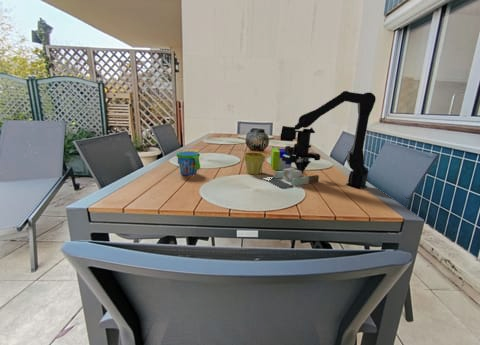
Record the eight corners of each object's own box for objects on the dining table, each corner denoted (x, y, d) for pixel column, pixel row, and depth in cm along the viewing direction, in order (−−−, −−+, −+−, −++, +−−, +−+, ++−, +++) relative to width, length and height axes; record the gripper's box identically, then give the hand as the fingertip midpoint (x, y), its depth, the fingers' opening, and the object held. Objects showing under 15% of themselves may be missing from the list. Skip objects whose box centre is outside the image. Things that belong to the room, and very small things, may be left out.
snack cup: (171, 171, 122) (170, 151, 120) (190, 168, 129) (190, 149, 126) (186, 179, 111) (185, 157, 108) (206, 175, 117) (206, 154, 114)
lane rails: (318, 181, 114) (319, 175, 113) (293, 185, 107) (293, 179, 106) (298, 174, 125) (299, 168, 125) (274, 177, 118) (275, 171, 118)
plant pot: (262, 176, 120) (263, 156, 117) (241, 174, 122) (242, 155, 119) (264, 171, 130) (266, 152, 127) (245, 169, 132) (246, 151, 129)
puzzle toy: (290, 170, 134) (292, 152, 131) (272, 169, 134) (273, 151, 131) (287, 166, 143) (289, 149, 141) (270, 165, 143) (271, 148, 141)
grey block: (300, 181, 114) (301, 171, 113) (290, 182, 111) (291, 172, 110) (292, 178, 119) (293, 168, 118) (282, 179, 116) (283, 169, 115)
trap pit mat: (293, 187, 106) (293, 186, 106) (282, 188, 103) (282, 187, 103) (271, 177, 119) (271, 176, 119) (261, 178, 116) (261, 177, 116)
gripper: (306, 139, 124) (303, 169, 128) (276, 140, 115) (273, 172, 119) (323, 142, 114) (318, 174, 118) (291, 144, 106) (288, 179, 110)
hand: (299, 175), depth 117 cm, fingers closed
